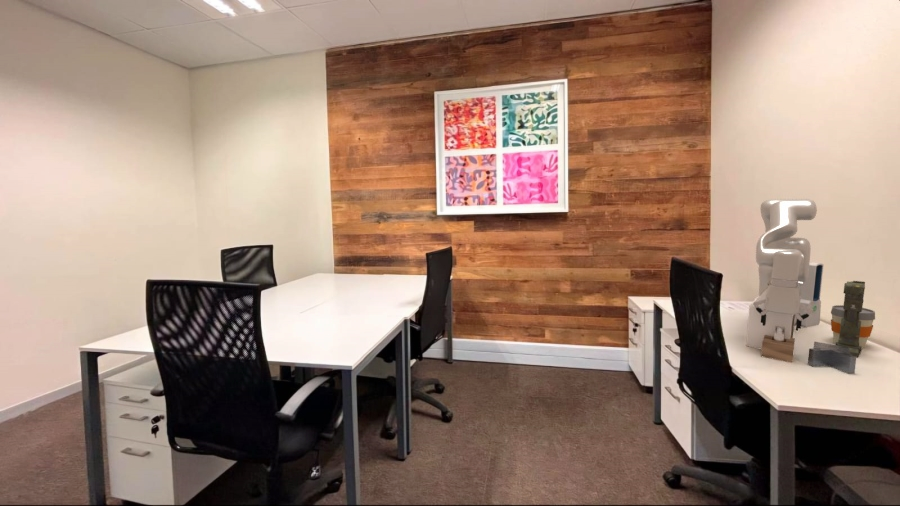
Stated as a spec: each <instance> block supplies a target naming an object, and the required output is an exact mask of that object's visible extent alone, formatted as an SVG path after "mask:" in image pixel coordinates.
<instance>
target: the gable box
mask: <svg viewBox="0 0 900 506" xmlns="http://www.w3.org/2000/svg"><path fill="white" fill-rule="evenodd" d="M771 280H772V279H771ZM771 280H770V281H769V282H768V286H769V285H771ZM767 289H768V287H767V288H766V289H765V290H764V291H763V292H762V293H761V294H760V295H759V294H758V296H756V297H755V298H754V300H753V301H752V302H751V303H750V305H749V306H748V318H747V319H748V320H747V331H746V342H745V343H746V344H745V345H746V347H748V346H749V347H748V348H753V347H755V349H758V348H760V349H759V350H762V341H763V338H764V335H768V336H773V337H774V331H775V326H781V327H785V335H784V338H785V339H790V338H794V332H795V331H794V330H795V325H794V324H795V315H791V314H783V313H776V312H767V313H766V324H765V325H764V326H763V323H761V314H760V313H759V312H758V311H757V310H756V308H755V307H754V305H753V303H754V302H757V301H761V300H764V299H766V293H767ZM759 307H760V308H761V309H762V310H764V309H765V303H764V304H760V305H759Z"/></svg>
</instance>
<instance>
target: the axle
mask: <svg viewBox="0 0 900 506" xmlns="http://www.w3.org/2000/svg"><path fill="white" fill-rule="evenodd" d="M784 335H785V327H781V326H775V331H774V341H780V342H784Z"/></svg>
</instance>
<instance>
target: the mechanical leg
mask: <svg viewBox="0 0 900 506" xmlns="http://www.w3.org/2000/svg"><path fill="white" fill-rule="evenodd" d="M865 289H866V282H865V281H861V280H853V281H846V282H845V283H844V287H843V294H844V299H843V309H844V318H842V319H841V326H840V334H839V339H838V342H836V344H835V345H839V346H845V347H848V348H849V352H850V355H853V356H856V358H858V357H859V356H860V354H861V353H862V349H861V346H859V335H860V329H861V321H859V312H862V308H863V306H864V295H865Z"/></svg>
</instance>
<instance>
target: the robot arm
mask: <svg viewBox="0 0 900 506" xmlns="http://www.w3.org/2000/svg"><path fill="white" fill-rule="evenodd" d="M759 208H760V210H759V211H760V215H761V217H762V220H763V222H764V226H765V228H764V229H765V230H764V231H765V232H763V234H762V235H761V236H760V237H759V238H758V240H757V242H756V245H755V246H756V247H755V260H756V261H755V262H756V263H757V265H758V267H757V268H758V280H759V282H758V283H759V286H758V296H759V295H760V294H761V293H762V292H763V291H764V290H765V289H766V288H767V287H768V289H767V293H766V299H764V300H761V301H757V302H754V303H753V305H754V307H755V308H756V310H757V311H758V312H759V313H760V314H761V323H763V326H764V325H765V324H766V313H767V312H776V313H783V314H791V315H795V316H796V317H797V318H798V319H797V321H796V325H795V331H796V332H798V331H799V329H800V330H801V329H802V327H801V323H802V320H804V319H805V318H807V317H809V315H810V314H811V313H812V312H813V310H812V309H811V308H809V307H807V306H805V305H803V304H801V303H800V301H801V295H800V288H797V286H800V285H801V286H803V282H805V281H806V280H807V279H808V275H809V263H810V260H811V242H810V241H809V240H808V239H807V238H805V237H794V236H795V235H796V234H797V232H798V221H812V220H814V219H815V218H816V217H817V216H816V215H817V211H818V209H817V204H816V202H815V201H814V200H813V199H810V198H777V199H776V198H775V199H773V198H772V199H768V200H763V202H761V204H760V207H759ZM771 279H772V280H771ZM770 280H771V285H769V286H768V282H769V281H770ZM764 303H765V309H764V310H762V309H761V308H760V307H759V305H760V304H764ZM800 308H802V309H804V310H806V311H807V312H806V313H805V314H803V315H802V316H801V315H800V314H799V311H800Z"/></svg>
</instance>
